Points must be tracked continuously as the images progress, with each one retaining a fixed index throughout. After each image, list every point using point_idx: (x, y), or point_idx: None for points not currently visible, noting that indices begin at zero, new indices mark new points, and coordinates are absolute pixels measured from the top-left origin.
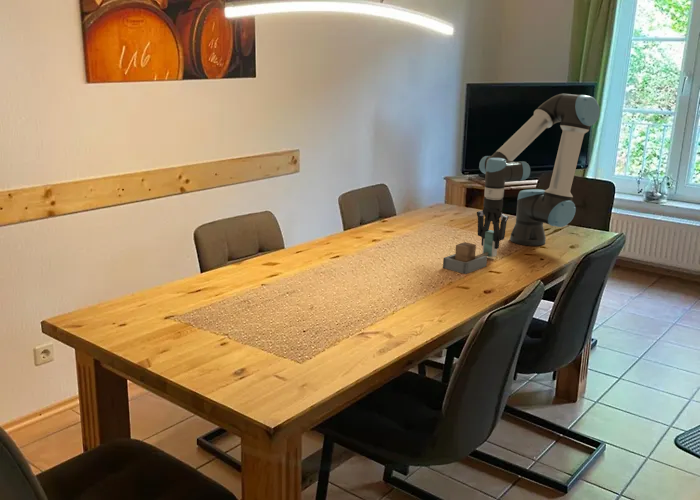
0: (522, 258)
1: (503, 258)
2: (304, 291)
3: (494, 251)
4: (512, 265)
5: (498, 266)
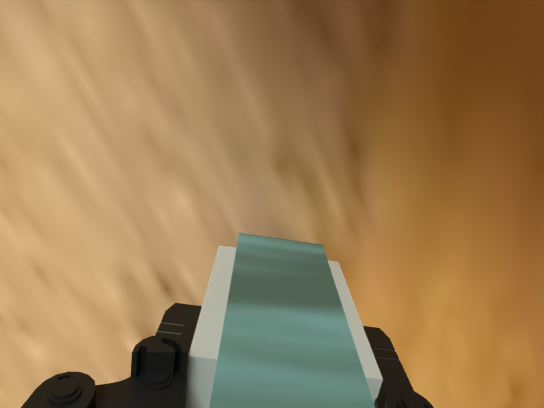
0: (541, 54)
1: (374, 174)
2: None
3: None
4: (496, 311)
5: None
